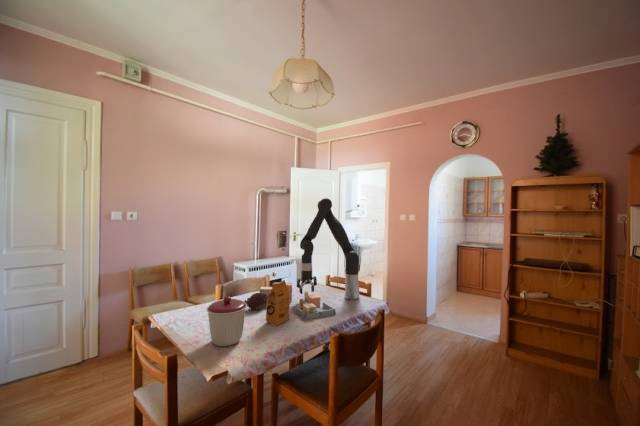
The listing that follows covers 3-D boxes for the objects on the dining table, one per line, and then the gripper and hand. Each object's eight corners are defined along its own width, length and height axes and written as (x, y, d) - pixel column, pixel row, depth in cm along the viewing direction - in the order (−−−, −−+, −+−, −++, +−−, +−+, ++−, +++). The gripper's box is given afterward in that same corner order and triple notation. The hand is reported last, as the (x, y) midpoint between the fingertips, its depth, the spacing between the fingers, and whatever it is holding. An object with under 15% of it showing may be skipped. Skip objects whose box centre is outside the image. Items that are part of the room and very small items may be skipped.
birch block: (304, 307, 175) (305, 298, 175) (316, 316, 161) (316, 306, 161) (296, 309, 173) (296, 299, 172) (307, 318, 158) (307, 308, 158)
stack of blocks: (259, 303, 183) (259, 284, 183) (261, 300, 190) (261, 282, 190) (291, 303, 184) (291, 284, 184) (292, 300, 190) (292, 282, 190)
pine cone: (265, 303, 182) (265, 288, 182) (273, 307, 175) (274, 292, 175) (240, 309, 170) (240, 293, 170) (248, 314, 163) (248, 297, 163)
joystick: (309, 298, 193) (309, 290, 193) (320, 306, 178) (320, 297, 178) (301, 300, 190) (301, 291, 190) (311, 307, 176) (311, 298, 175)
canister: (252, 343, 127) (253, 298, 127) (211, 355, 117) (212, 305, 117) (239, 329, 142) (239, 289, 142) (202, 338, 132) (202, 294, 131)
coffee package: (263, 322, 151) (263, 282, 151) (278, 315, 162) (279, 278, 161) (276, 327, 146) (276, 285, 145) (291, 319, 156) (292, 281, 156)
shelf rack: (324, 306, 178) (324, 302, 178) (335, 314, 165) (335, 309, 165) (295, 311, 168) (295, 306, 168) (305, 319, 156) (305, 314, 156)
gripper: (313, 267, 196) (313, 289, 196) (295, 269, 189) (295, 292, 190) (318, 269, 190) (318, 292, 190) (299, 271, 183) (299, 295, 183)
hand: (306, 292), depth 190 cm, fingers open, 8 cm apart
